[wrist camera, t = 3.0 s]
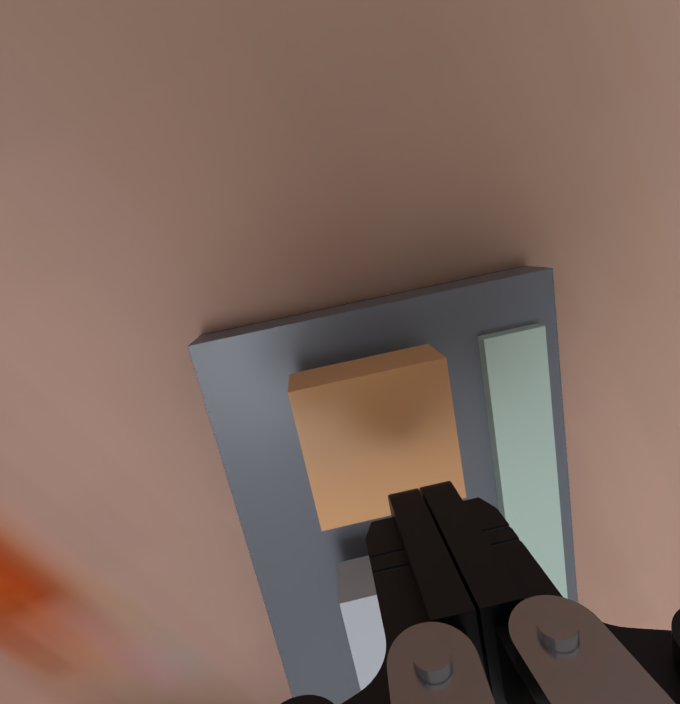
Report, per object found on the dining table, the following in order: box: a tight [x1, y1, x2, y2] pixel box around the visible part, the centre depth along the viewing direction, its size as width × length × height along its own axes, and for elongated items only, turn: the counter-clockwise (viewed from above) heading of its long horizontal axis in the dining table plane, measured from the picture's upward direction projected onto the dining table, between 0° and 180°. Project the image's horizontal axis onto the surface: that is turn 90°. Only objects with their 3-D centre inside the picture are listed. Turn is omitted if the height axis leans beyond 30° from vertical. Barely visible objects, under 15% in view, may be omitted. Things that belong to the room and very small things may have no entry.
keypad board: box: [188, 266, 578, 704], centre depth 20 cm, size 14×24×3 cm, turn 11°
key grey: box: [335, 555, 386, 690], centre depth 17 cm, size 5×5×2 cm
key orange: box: [288, 344, 466, 531], centre depth 15 cm, size 5×5×2 cm
